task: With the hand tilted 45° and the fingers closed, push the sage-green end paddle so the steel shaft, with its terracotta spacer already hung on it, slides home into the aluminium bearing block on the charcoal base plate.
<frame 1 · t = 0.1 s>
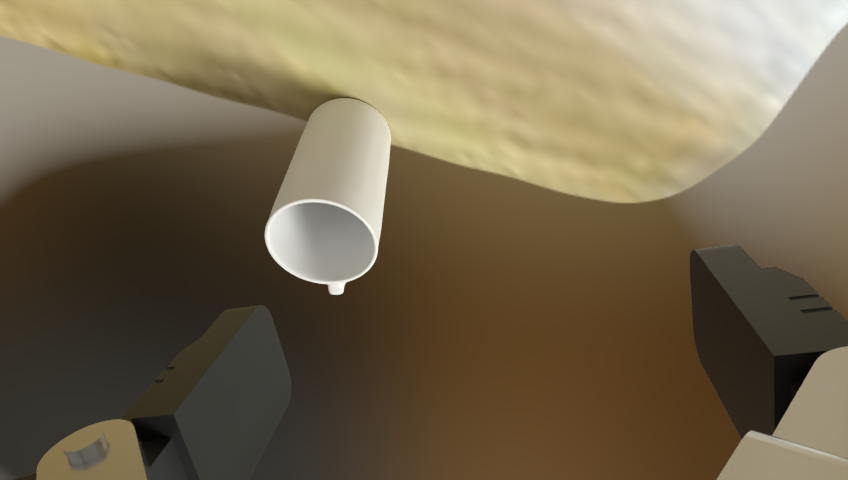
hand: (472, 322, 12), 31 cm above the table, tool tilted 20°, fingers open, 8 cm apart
mug: (351, 151, 47), on the table
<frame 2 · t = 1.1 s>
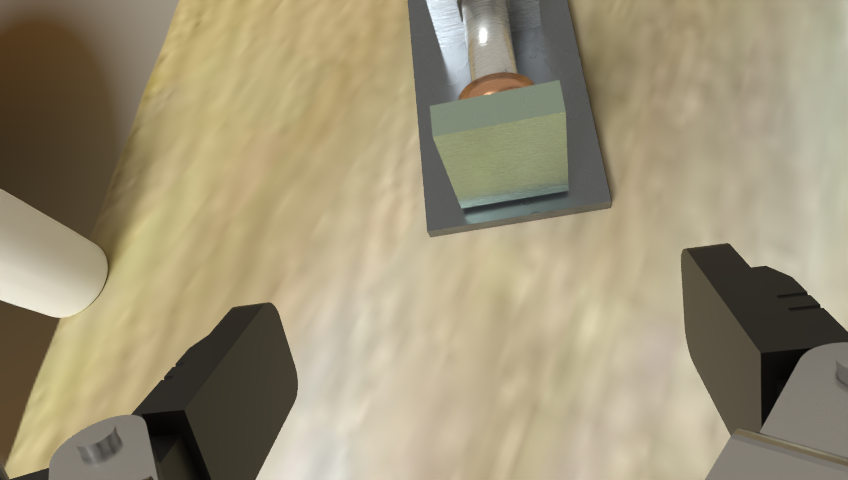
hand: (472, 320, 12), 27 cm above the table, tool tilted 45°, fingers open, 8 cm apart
mug: (56, 284, 49), on the table
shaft: (491, 64, 40), point 6 cm above the table, slide at 8.0 cm
bearing block: (493, 56, 47), on the table
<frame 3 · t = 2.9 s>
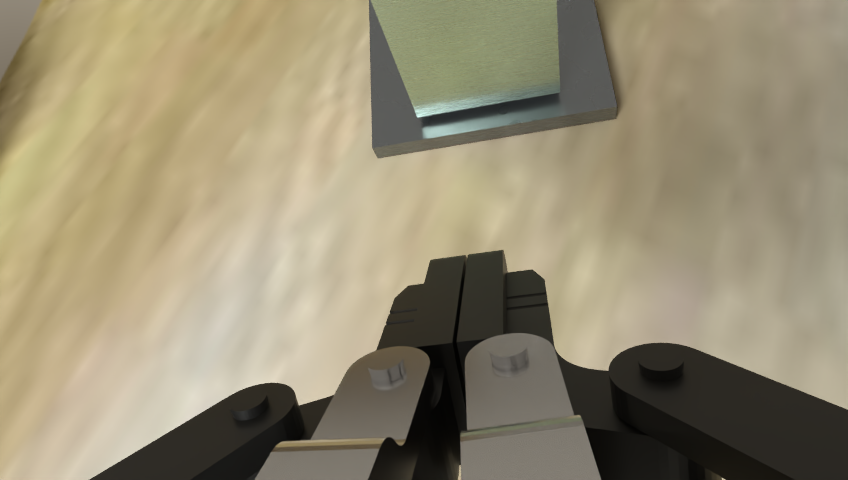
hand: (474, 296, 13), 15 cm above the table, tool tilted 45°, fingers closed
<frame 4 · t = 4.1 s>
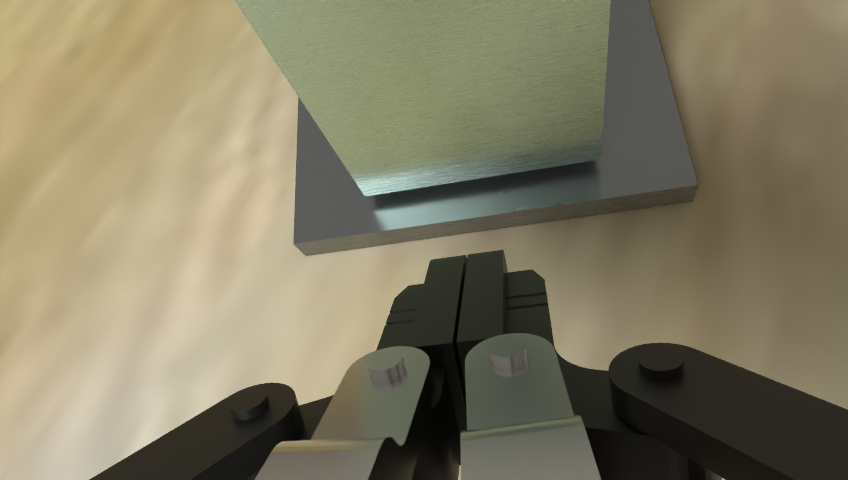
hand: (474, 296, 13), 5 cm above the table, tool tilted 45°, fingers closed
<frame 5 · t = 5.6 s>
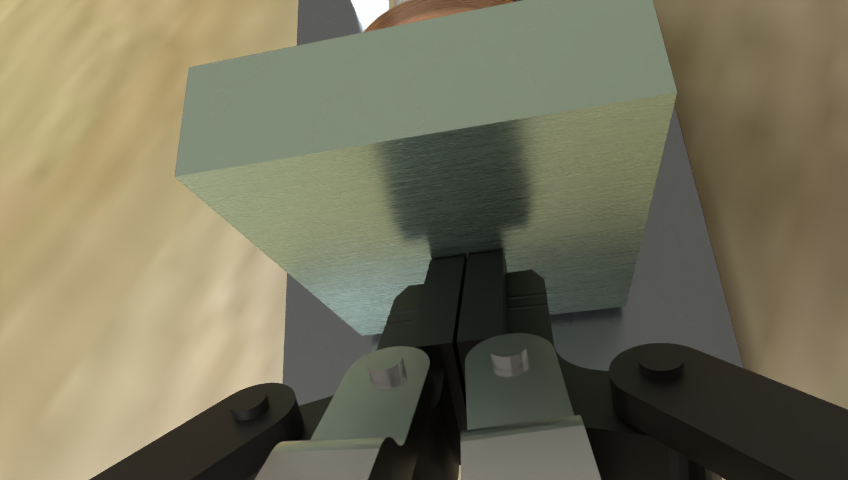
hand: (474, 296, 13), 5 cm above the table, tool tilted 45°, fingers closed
bearing block: (464, 29, 23), on the table
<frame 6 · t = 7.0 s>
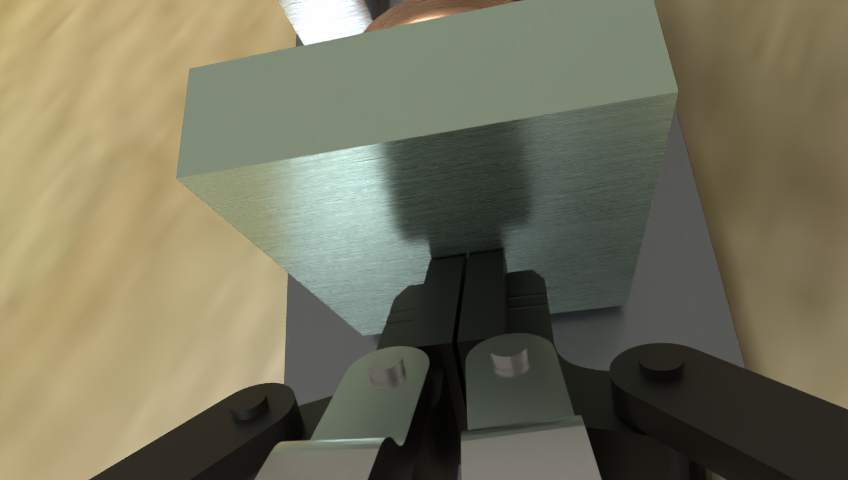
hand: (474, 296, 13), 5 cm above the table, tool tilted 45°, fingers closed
bearing block: (477, 156, 20), on the table
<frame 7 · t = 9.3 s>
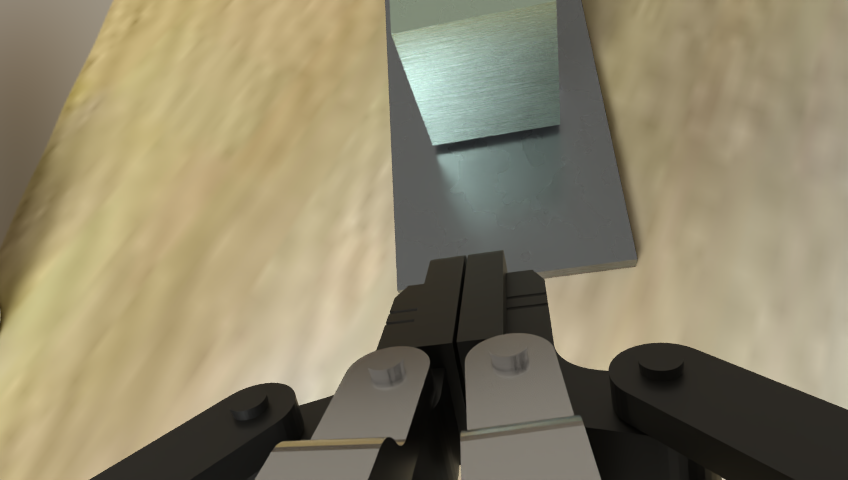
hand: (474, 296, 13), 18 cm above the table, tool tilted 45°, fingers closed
bearing block: (487, 66, 38), on the table
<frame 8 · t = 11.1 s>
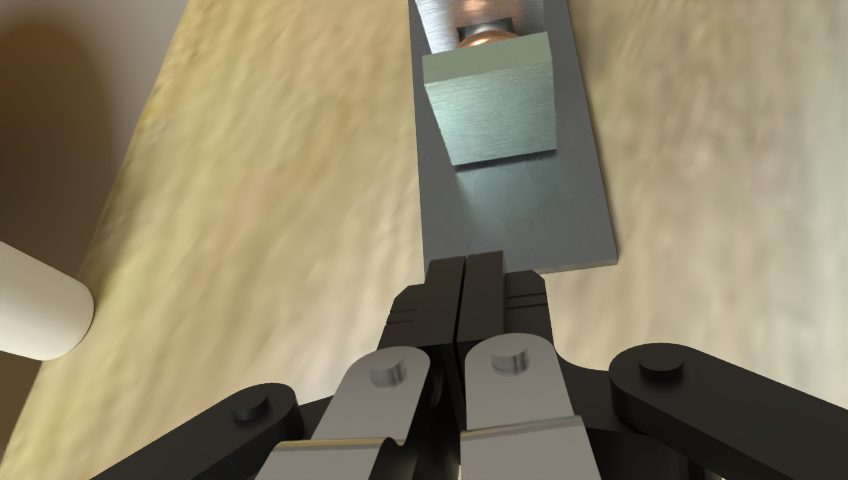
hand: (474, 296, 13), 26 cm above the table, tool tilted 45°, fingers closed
mug: (40, 324, 47), on the table
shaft: (484, 24, 41), point 6 cm above the table, slide at 0.9 cm
bearing block: (497, 98, 46), on the table
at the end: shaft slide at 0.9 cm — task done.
